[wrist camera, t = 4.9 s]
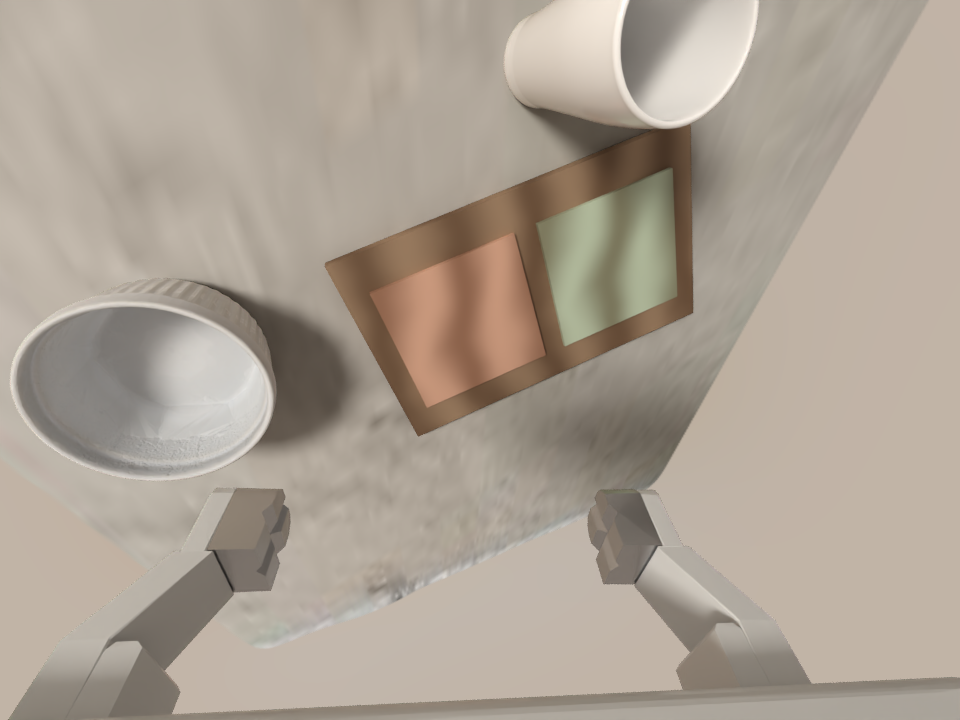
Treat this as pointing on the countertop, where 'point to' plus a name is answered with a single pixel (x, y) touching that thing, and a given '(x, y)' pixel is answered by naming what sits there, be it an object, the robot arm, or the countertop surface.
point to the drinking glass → (630, 58)
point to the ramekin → (147, 381)
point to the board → (527, 278)
